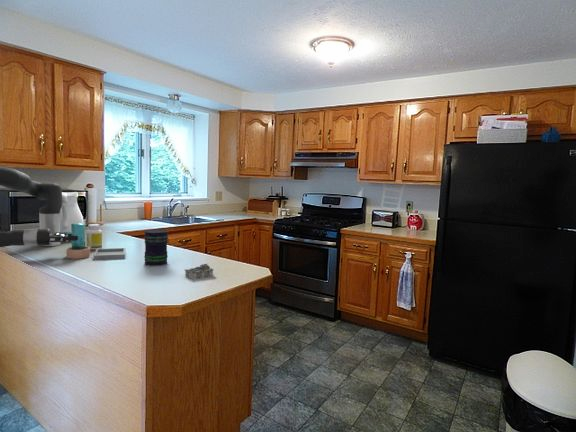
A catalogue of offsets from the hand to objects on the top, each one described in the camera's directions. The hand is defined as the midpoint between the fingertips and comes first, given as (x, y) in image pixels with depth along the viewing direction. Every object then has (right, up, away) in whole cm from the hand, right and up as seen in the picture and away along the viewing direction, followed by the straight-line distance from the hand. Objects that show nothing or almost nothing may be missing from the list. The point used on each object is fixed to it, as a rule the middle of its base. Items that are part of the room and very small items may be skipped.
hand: (79, 236), depth 162 cm
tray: (+12, -10, +6) cm, 16 cm away
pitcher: (-31, -5, +39) cm, 50 cm away
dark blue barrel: (+38, -12, -5) cm, 41 cm away
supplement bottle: (-4, -8, +19) cm, 21 cm away
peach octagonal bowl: (-1, -9, +1) cm, 10 cm away
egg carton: (+62, -15, -22) cm, 68 cm away
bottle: (-1, -9, +1) cm, 9 cm away
